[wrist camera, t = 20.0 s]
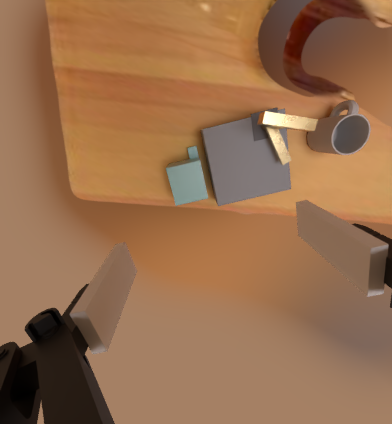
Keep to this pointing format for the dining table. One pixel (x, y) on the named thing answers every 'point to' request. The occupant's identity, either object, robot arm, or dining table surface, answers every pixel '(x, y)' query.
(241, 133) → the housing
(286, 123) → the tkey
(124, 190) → the dining table surface
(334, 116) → the cup
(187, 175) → the cover
